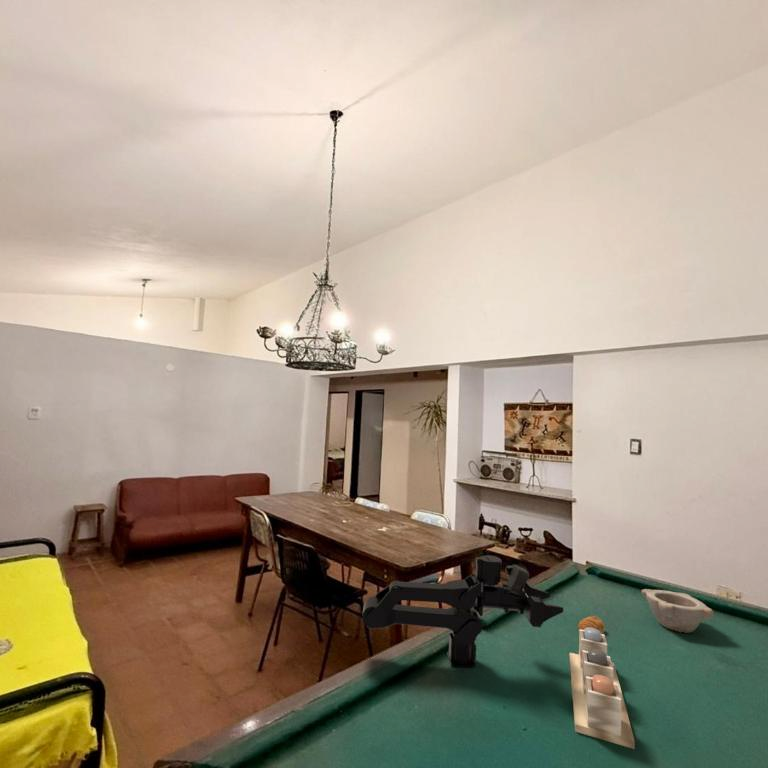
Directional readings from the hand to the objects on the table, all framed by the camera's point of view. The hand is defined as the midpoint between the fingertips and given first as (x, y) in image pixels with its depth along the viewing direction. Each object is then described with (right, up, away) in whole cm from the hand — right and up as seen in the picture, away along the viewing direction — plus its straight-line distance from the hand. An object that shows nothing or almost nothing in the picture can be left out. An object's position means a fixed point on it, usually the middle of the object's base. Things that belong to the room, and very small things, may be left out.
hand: (556, 602), depth 116 cm
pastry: (+19, -20, +20) cm, 34 cm away
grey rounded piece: (+5, -10, -13) cm, 17 cm away
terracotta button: (0, -9, -24) cm, 26 cm away
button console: (+4, -16, -13) cm, 21 cm away
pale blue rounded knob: (+9, -12, -2) cm, 15 cm away
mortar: (+51, -22, +26) cm, 61 cm away
